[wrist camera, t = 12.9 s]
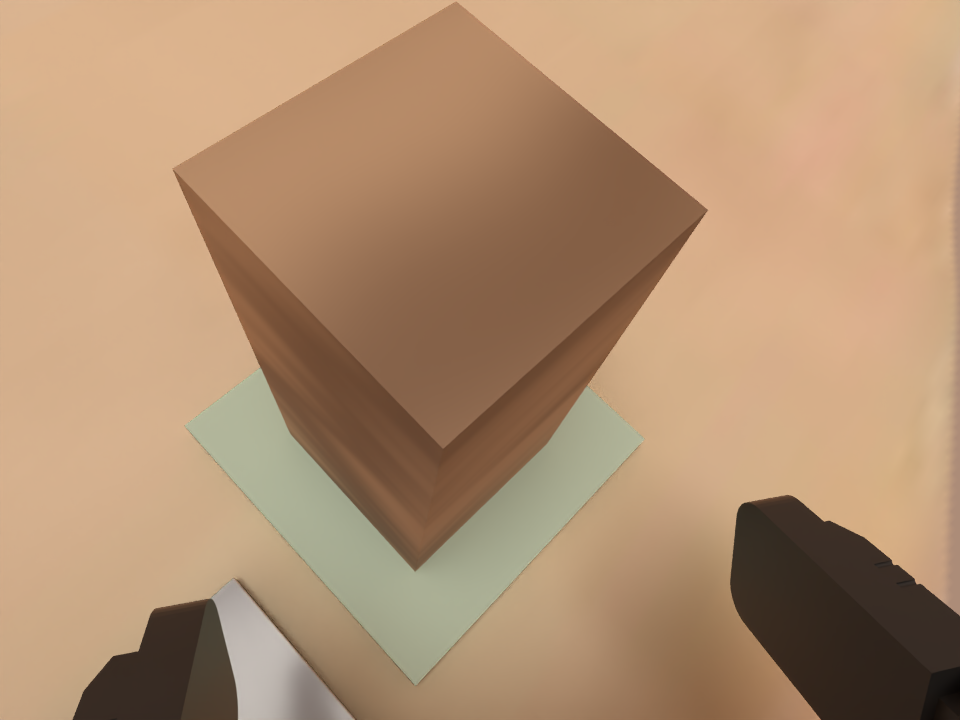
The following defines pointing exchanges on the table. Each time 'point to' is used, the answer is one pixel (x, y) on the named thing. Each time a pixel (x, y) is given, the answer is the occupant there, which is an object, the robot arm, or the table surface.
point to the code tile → (270, 665)
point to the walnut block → (432, 265)
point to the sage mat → (368, 555)
